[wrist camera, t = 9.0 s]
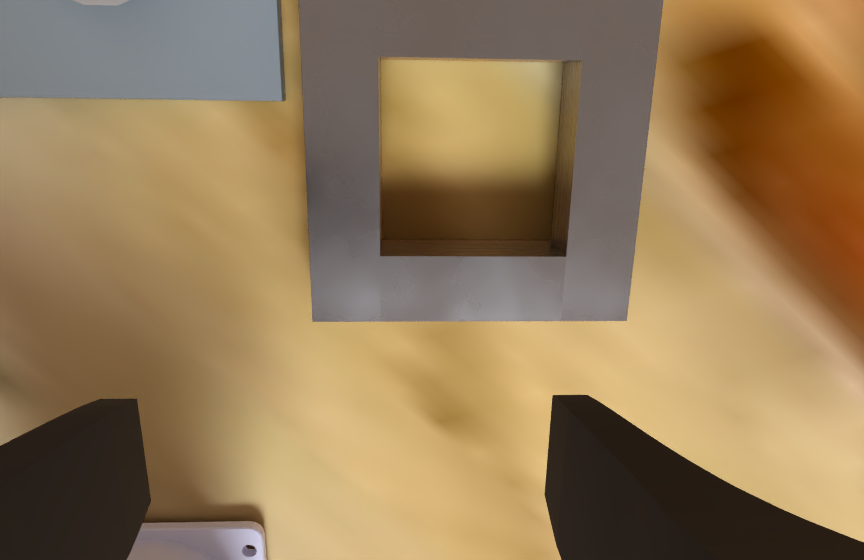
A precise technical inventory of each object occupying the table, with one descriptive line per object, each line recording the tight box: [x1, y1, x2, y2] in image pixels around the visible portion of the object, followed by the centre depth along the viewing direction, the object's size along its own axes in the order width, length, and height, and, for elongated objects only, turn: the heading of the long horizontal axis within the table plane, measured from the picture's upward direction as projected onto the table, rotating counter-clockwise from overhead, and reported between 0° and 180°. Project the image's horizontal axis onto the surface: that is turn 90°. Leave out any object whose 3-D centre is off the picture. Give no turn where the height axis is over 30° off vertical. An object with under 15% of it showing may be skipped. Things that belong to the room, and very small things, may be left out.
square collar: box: [299, 0, 663, 322], centre depth 19 cm, size 9×9×2 cm
